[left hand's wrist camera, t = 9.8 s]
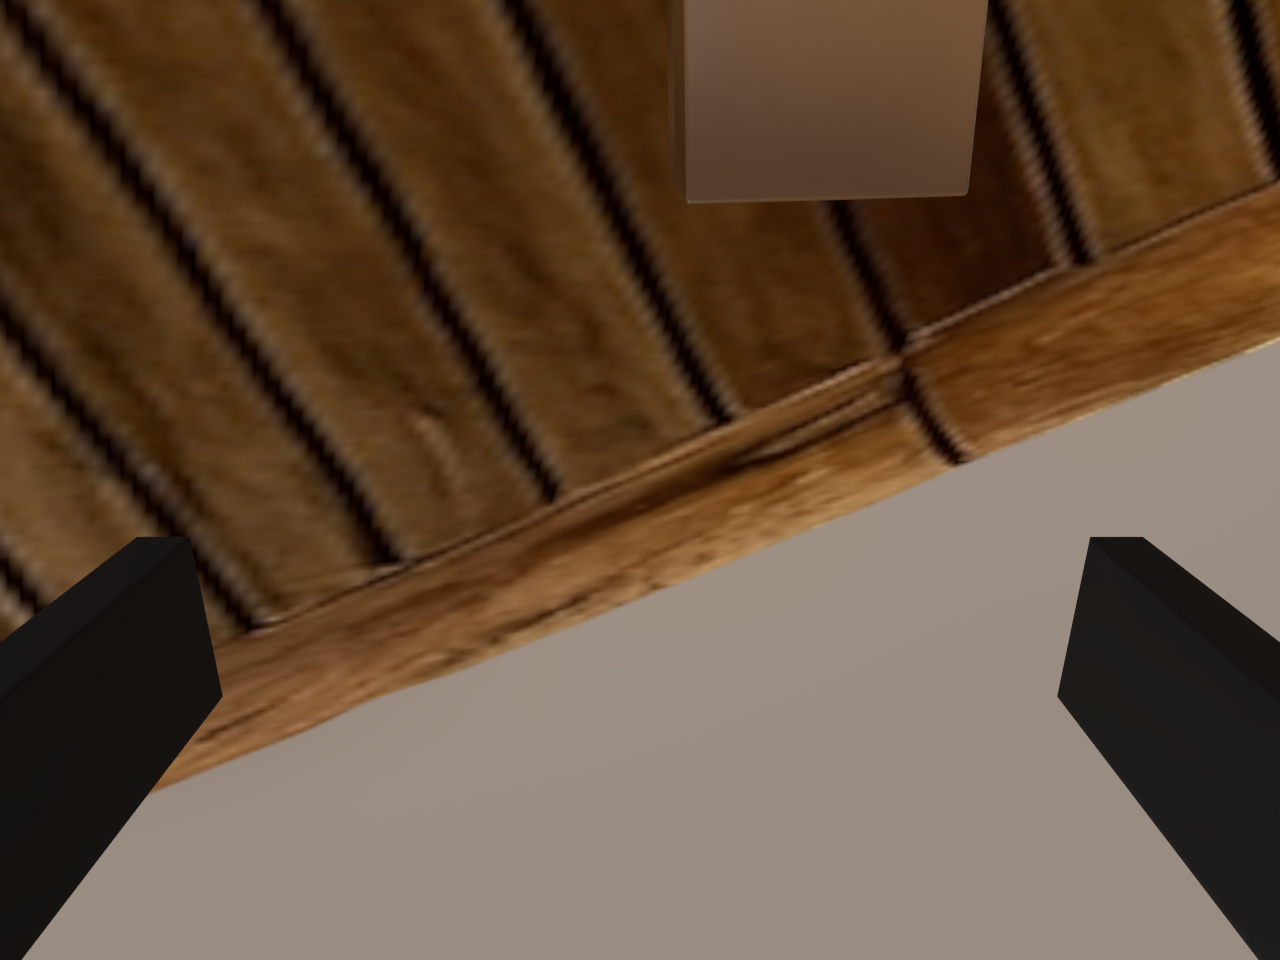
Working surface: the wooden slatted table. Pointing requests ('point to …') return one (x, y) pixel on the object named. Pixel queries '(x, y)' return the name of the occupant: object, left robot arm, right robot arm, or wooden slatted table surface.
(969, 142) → the bar
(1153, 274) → the wooden slatted table surface
